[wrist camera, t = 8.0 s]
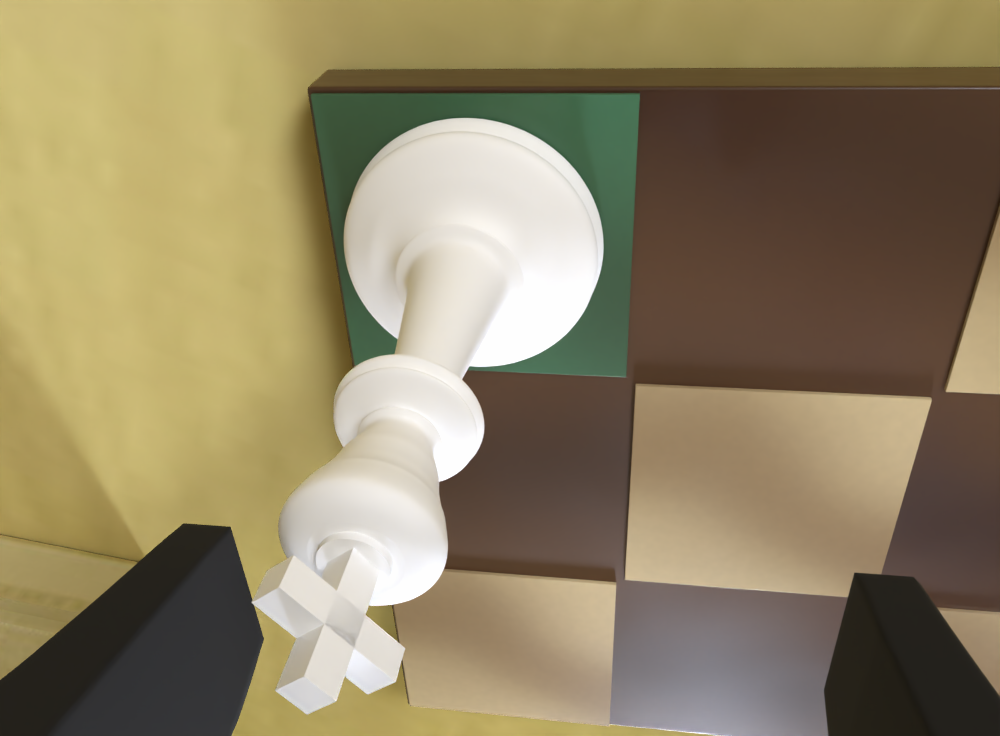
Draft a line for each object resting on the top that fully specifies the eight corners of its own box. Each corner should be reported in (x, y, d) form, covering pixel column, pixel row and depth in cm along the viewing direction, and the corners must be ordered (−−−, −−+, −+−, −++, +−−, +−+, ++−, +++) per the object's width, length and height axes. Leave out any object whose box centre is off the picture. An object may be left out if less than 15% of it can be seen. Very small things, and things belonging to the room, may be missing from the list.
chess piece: (463, 390, 19) (319, 870, 10) (297, 219, 17) (-33, 635, 9) (656, 268, 16) (664, 758, 8) (487, 58, 15) (283, 412, 6)
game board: (1051, 731, 24) (1070, 775, 23) (416, 670, 26) (406, 707, 25) (1401, 64, 14) (1464, 88, 13) (326, 68, 16) (304, 89, 15)
